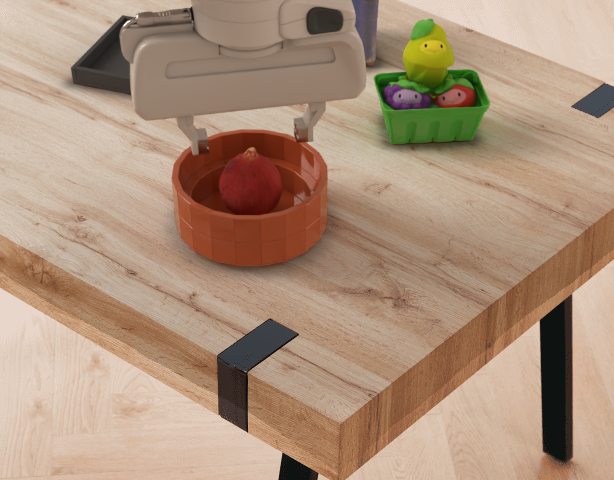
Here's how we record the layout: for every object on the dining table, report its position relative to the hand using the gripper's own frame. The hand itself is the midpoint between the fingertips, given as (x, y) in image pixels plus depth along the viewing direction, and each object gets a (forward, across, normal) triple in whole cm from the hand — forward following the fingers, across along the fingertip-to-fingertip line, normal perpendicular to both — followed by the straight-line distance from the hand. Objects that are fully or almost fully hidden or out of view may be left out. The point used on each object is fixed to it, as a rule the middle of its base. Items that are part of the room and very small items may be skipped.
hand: (252, 145), depth 97 cm
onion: (+8, 0, 0) cm, 8 cm away
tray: (+9, -6, +31) cm, 32 cm away
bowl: (+9, 0, 0) cm, 9 cm away
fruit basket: (+9, +21, +13) cm, 26 cm away
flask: (+9, +18, +31) cm, 37 cm away
